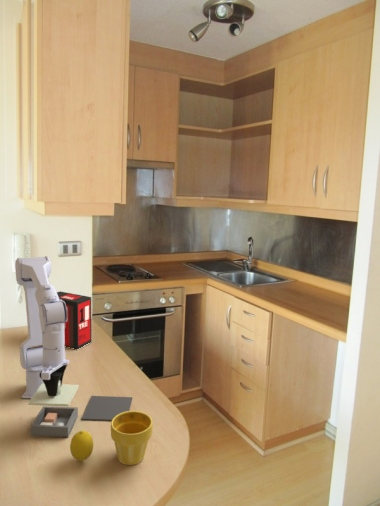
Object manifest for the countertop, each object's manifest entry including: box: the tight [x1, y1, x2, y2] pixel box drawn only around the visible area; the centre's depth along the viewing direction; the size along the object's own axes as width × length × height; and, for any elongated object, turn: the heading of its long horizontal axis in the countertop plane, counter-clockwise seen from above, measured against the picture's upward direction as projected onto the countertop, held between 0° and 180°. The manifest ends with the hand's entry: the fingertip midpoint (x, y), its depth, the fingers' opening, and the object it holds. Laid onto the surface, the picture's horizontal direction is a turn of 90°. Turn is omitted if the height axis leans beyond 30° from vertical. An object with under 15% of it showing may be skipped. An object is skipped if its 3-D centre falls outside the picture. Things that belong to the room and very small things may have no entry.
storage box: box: [30, 406, 79, 439], centre depth 118 cm, size 10×10×3 cm
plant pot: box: [110, 410, 154, 466], centre depth 106 cm, size 10×10×10 cm
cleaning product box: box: [56, 290, 92, 350], centre depth 176 cm, size 16×9×20 cm, turn 66°
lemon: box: [69, 430, 94, 462], centre depth 104 cm, size 6×6×8 cm
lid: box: [27, 380, 80, 407], centre depth 117 cm, size 11×11×5 cm
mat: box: [81, 395, 133, 422], centre depth 128 cm, size 13×13×1 cm
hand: (54, 392), depth 117 cm, fingers closed on lid, 3 cm apart
